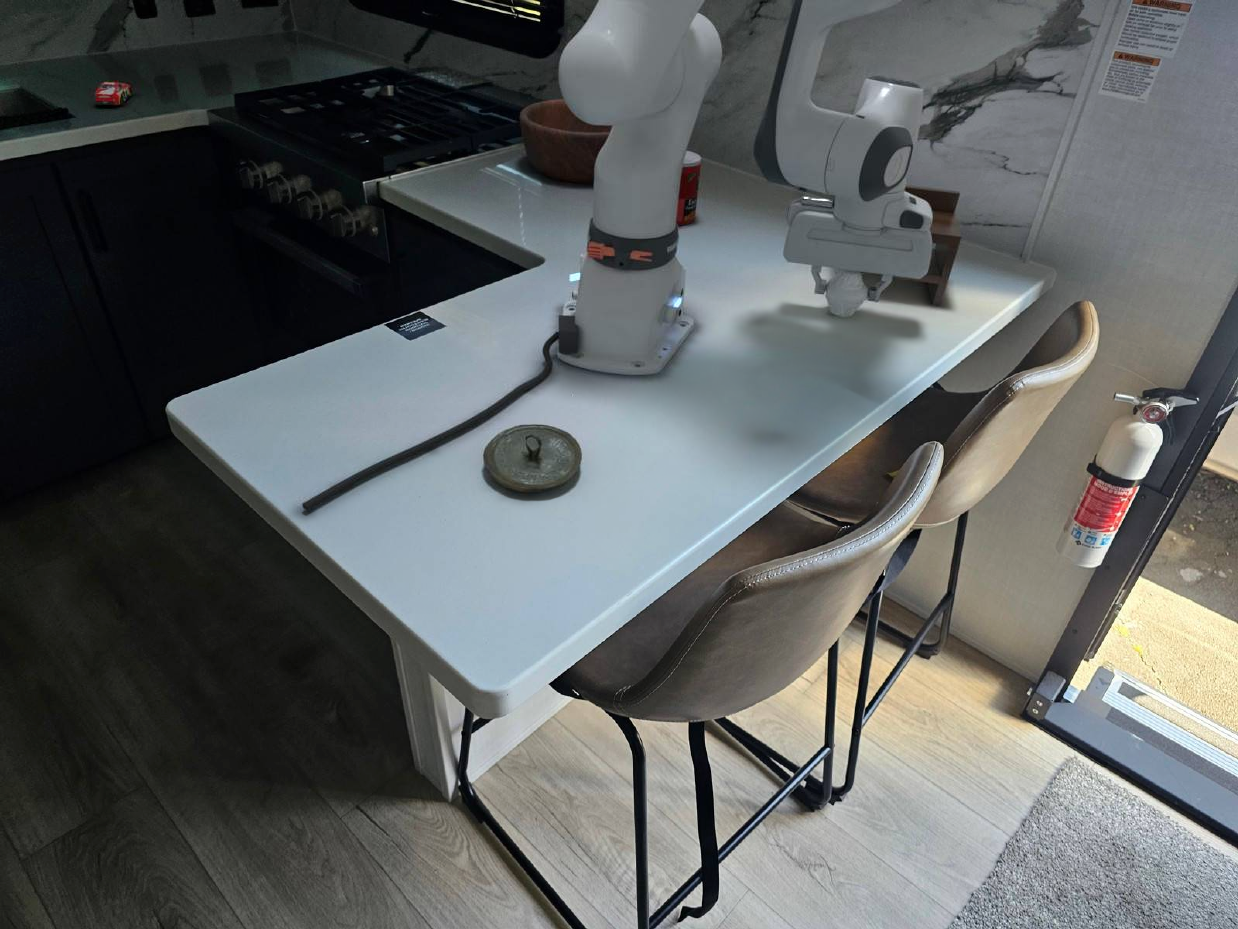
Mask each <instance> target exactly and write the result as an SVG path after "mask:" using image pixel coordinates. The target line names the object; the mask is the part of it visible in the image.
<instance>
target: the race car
mask: <svg viewBox="0 0 1238 929" xmlns="http://www.w3.org/2000/svg"><path fill="white" fill-rule="evenodd" d="M129 97H133V89H132V86H131V85H129V84H127V83H122V82H117V81H105V82H104V81H103V82H102V83H100V84H99V86H97V89H96V91H95V92H94V100H95V104H96V105H97V106H124V105H125V104H124V103H125V102H126V101H127V99H129Z"/></svg>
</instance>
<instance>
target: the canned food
mask: <svg viewBox="0 0 1238 929" xmlns="http://www.w3.org/2000/svg"><path fill="white" fill-rule="evenodd" d="M701 167H702V157H701V156H700V154H698V153H696V152H693V151H691V150H687V151H686V154H685V158H684V162H683V167H682V173H681V180H680V189H679V198H678V207H677V216H676V223H677V224H678V226H685V225H688V224H689V225H690V223H693V221H694V219H695V217H696V213H697V204H698V203H697V202H698V196H699V185H700V176H701V169H702V168H701Z"/></svg>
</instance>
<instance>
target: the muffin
mask: <svg viewBox="0 0 1238 929" xmlns="http://www.w3.org/2000/svg"><path fill="white" fill-rule="evenodd" d="M868 292H869V290H868V288H867V286H866V285H865V283H864V281H863V274H861V273H860V272H859V271H853V270H845V269H841V270H839V272H838V273H837V275H836V276H835V275H834V277H833V278H831V279H829V281H828V280H827V282H826V289H825V298H826V302H827V305H828V308H829V311H830V312H831V314H833V315H834V316H837V317H843V318H848V317H850V316H852V315H853V314H854V313H855V312H856V311H857V310H858V309H859V307H860V306H861V305H863V303H864V301H865V300H866V298H867V297H868Z"/></svg>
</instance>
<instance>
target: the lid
mask: <svg viewBox="0 0 1238 929" xmlns="http://www.w3.org/2000/svg"><path fill="white" fill-rule="evenodd" d="M482 458H483V464H484V467H485V470H486V471H487V473H488V474H489V475H490V477H492V478H493V480H494V481H495V482H497V483H498V485H501V486H502V487H504V488H506V489H507V490H510V491H513V492H518V493H519V492H520V493H539V492H544V491H549V490H551V489H555V488H558V487H561V486H562V485H565V484H567V483H568V482H569V481H571V479H572V478H574V476H575V475H576V474H577V473H578V470H579V468H580V467H581V465H582V464H581V463H582V460H583V453H582V448H581V446H580V443H579V442H578V440H577V439H576V438H575V437H574V436H572V434H571V433H569V432H568V431H566V430H563V429H561V428H558V427H555V426H552V425H547V424H539V423H538V424H535V423H534V424H533V423H532V424H531V423H530V424H519V425H515V426H512V427H509V428H506V429H505V430H503V431H501V432H498V433H497V434H496V435H495V436H494V437H493V438H492V439H490V441H489V442H488V443H487V444H486V446H485V447H484V450H483V453H482Z"/></svg>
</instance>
